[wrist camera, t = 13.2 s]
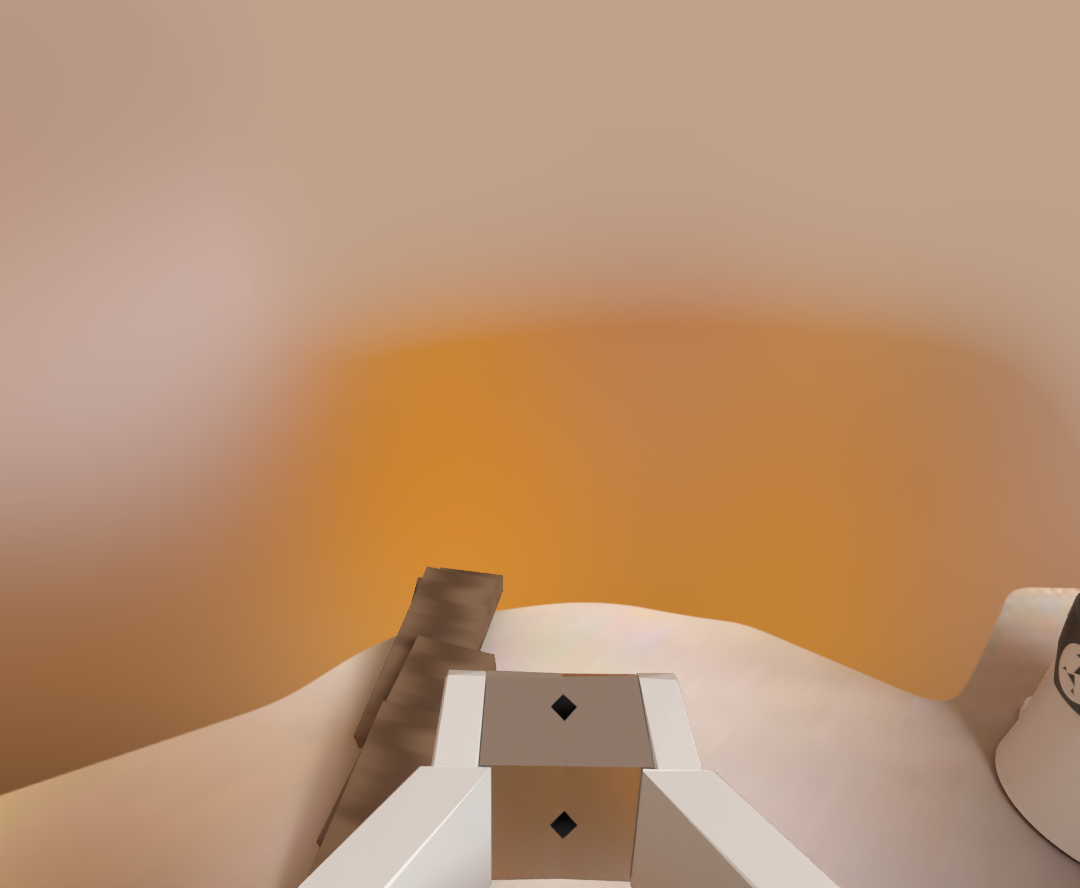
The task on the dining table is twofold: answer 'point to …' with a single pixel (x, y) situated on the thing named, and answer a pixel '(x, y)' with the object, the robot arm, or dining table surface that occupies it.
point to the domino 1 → (381, 768)
